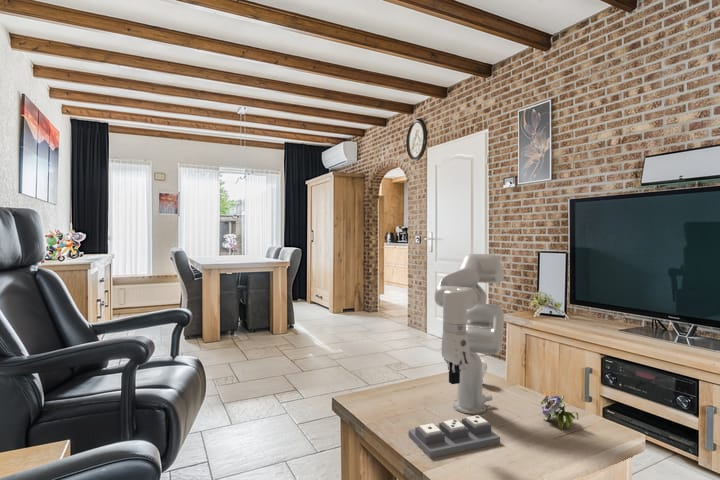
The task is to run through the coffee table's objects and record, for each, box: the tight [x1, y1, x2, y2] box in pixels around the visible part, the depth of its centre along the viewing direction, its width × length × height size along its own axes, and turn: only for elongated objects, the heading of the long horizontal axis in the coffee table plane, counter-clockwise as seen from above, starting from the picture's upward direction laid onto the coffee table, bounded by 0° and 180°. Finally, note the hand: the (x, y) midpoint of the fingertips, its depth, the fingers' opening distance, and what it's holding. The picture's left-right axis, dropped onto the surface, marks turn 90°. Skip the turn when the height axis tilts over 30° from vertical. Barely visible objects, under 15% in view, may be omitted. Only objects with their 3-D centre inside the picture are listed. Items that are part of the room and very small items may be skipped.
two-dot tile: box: [465, 414, 489, 427], centre depth 133 cm, size 5×5×3 cm
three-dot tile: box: [442, 418, 465, 431], centre depth 130 cm, size 5×5×3 cm
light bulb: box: [481, 359, 488, 384], centre depth 180 cm, size 7×7×11 cm
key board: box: [408, 417, 501, 459], centre depth 130 cm, size 26×14×4 cm, turn 110°
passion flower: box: [540, 394, 579, 431], centre depth 143 cm, size 11×11×12 cm
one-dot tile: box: [418, 422, 441, 436], centre depth 127 cm, size 5×5×3 cm
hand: (454, 382), depth 130 cm, fingers closed
